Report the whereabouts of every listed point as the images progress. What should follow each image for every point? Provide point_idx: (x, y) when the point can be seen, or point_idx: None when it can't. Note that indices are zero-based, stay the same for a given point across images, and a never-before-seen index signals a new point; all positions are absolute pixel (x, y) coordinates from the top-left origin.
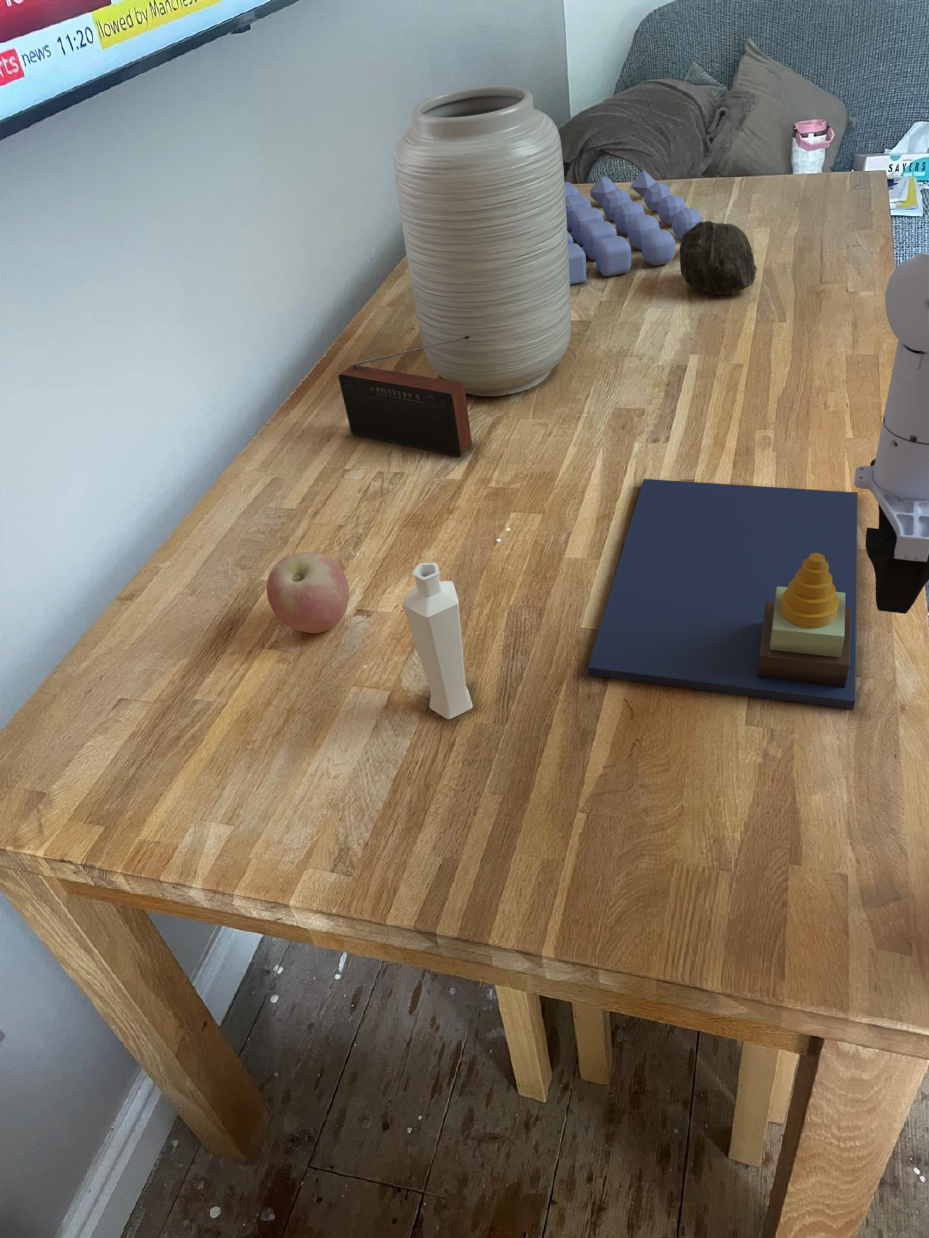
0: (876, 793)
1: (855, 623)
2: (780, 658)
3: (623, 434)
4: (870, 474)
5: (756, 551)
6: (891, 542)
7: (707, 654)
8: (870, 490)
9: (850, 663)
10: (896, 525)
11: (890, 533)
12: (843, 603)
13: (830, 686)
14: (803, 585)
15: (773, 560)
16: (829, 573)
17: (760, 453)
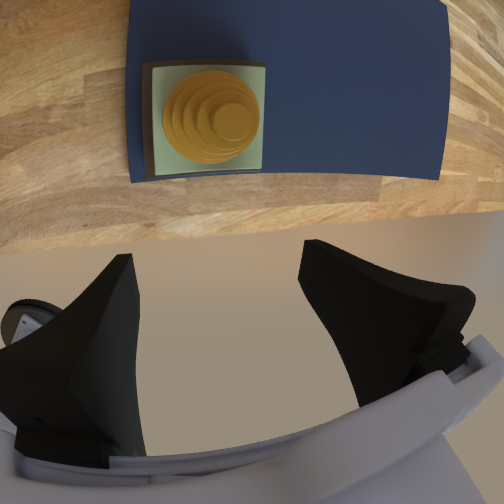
0: (40, 216)
1: (265, 172)
2: (142, 90)
3: (479, 18)
4: (375, 477)
5: (375, 72)
6: (40, 428)
7: (180, 10)
8: (264, 472)
9: None
10: (16, 500)
11: (83, 430)
12: (234, 167)
13: None
14: (189, 100)
15: (362, 88)
16: (237, 149)
17: (474, 110)
